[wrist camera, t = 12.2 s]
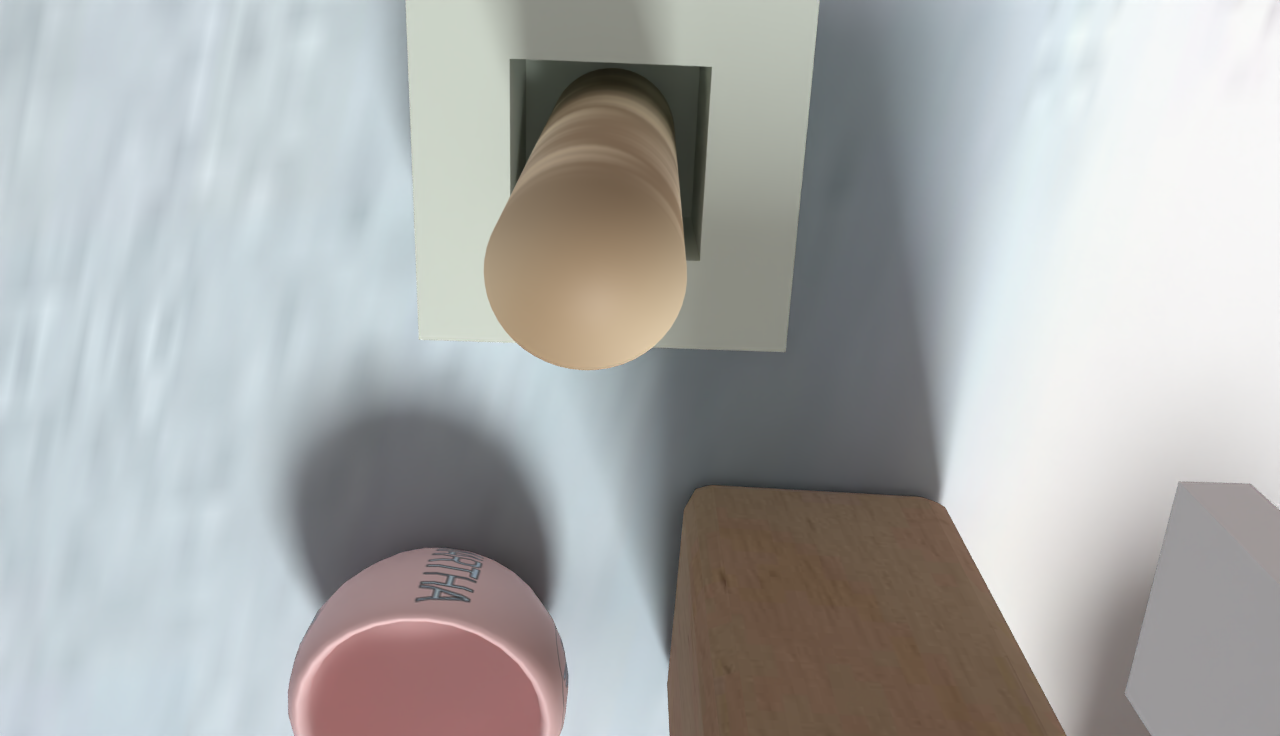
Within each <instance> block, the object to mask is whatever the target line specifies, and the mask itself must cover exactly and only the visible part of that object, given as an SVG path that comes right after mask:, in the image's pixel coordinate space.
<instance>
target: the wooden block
mask: <svg viewBox="0 0 1280 736" xmlns="http://www.w3.org/2000/svg"><path fill="white" fill-rule="evenodd" d="M667 689H668V711H669V732H670V736H1066V734H1065V732H1064V730H1063V728H1062V726H1061V724H1060V723H1059V721H1058V719H1057V717H1056V715H1055V713H1054V711H1053V709H1052V708H1051V706H1050V704H1049V702H1048V700H1047V698H1046V696H1045V694H1044V692H1043V691H1042V689H1041V687H1040V685H1039V683H1038V681H1037V679H1036V677H1035V676H1034V674H1033V672H1032V670H1031V668H1030V666H1029V664H1028V662H1027V660H1026V659H1025V657H1024V655H1023V653H1022V651H1021V649H1020V647H1019V645H1018V644H1017V642H1016V640H1015V638H1014V636H1013V634H1012V632H1011V630H1010V628H1009V627H1008V625H1007V623H1006V621H1005V619H1004V617H1003V615H1002V613H1001V612H1000V610H999V608H998V606H997V604H996V602H995V600H994V598H993V596H992V595H991V593H990V591H989V589H988V587H987V585H986V583H985V581H984V580H983V578H982V576H981V574H980V572H979V570H978V568H977V566H976V565H975V563H974V561H973V559H972V557H971V555H970V553H969V551H968V549H967V548H966V546H965V544H964V542H963V540H962V538H961V536H960V534H959V533H958V531H957V529H956V527H955V525H954V523H953V521H952V519H951V517H950V516H949V514H948V512H947V510H946V508H945V507H944V506H942V505H941V504H939V503H937V502H935V501H932V500H929V499H926V498H924V497H916V496H899V495H881V494H863V493H846V492H828V491H810V490H793V489H775V488H757V487H740V486H722V485H709V486H705V487H701V488H697V489H695V491H694V493H693V494H692V496H691V498H690V500H689V501H688V503H687V505H686V506H685V508H684V513H683V523H682V534H681V544H680V555H679V565H678V576H677V587H676V597H675V608H674V618H673V629H672V639H671V650H670V660H669V671H668V681H667Z"/></svg>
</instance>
